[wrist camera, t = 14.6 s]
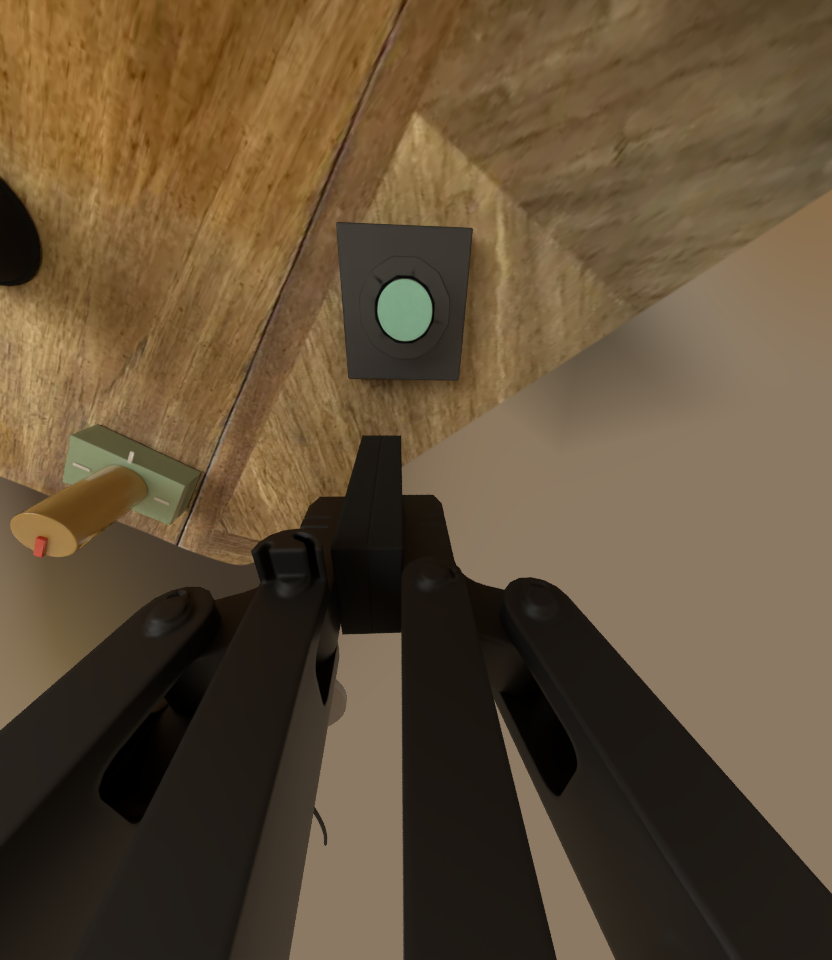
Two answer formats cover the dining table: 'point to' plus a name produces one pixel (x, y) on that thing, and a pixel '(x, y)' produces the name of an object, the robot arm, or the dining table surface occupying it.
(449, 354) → the button base
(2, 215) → the aerosol can
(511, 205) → the dining table surface
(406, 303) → the round green button
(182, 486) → the dial panel
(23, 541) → the dial
